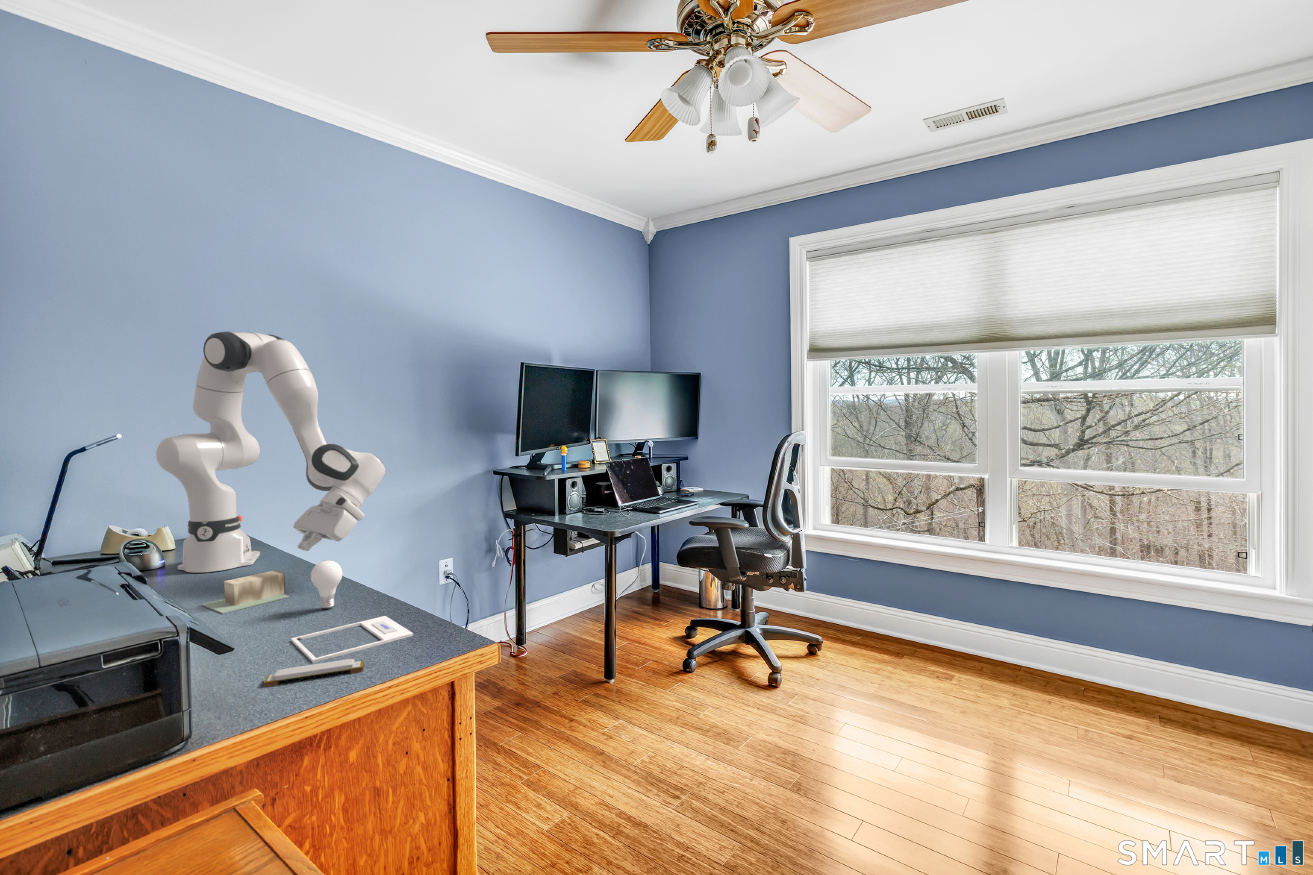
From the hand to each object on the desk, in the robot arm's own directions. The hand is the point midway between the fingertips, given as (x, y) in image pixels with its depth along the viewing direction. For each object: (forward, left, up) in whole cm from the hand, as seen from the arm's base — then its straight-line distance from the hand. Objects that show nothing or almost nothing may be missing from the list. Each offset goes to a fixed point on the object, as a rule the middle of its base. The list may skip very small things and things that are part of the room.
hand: (302, 549), depth 153 cm
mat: (+9, -10, -10) cm, 16 cm away
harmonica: (+58, +18, -11) cm, 62 cm away
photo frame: (+41, +20, -11) cm, 47 cm away
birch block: (+4, -4, -7) cm, 9 cm away
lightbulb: (+20, +11, -10) cm, 25 cm away
